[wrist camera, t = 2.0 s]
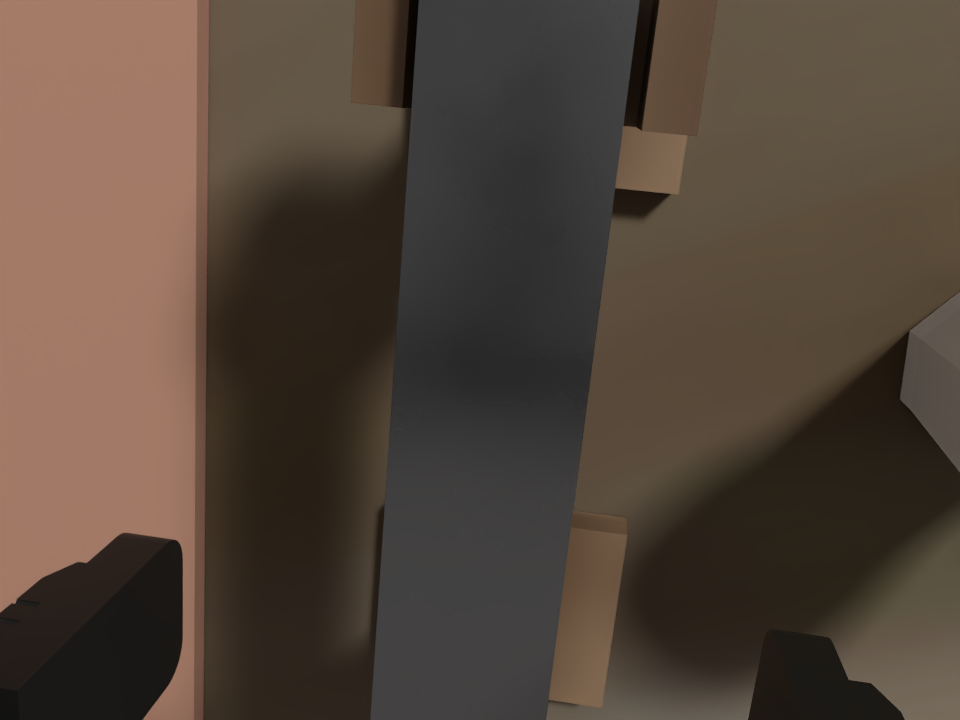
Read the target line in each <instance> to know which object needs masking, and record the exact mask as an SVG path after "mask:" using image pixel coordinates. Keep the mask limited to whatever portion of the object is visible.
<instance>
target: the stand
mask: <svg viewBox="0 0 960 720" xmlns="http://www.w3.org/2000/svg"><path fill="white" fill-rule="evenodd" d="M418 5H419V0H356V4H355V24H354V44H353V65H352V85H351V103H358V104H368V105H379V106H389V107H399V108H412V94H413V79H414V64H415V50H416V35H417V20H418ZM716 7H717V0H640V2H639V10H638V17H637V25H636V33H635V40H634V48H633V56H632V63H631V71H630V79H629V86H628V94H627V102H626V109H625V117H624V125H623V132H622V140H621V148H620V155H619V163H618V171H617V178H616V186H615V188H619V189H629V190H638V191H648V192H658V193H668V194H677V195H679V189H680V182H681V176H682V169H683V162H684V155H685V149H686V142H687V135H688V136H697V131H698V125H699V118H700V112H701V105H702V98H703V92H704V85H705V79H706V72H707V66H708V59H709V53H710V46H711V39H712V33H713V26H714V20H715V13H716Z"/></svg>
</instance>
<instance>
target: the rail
mask: <svg viewBox="0 0 960 720" xmlns="http://www.w3.org/2000/svg"><path fill="white" fill-rule="evenodd" d="M639 2H640V0H419V5H418V20H417V35H416V50H415V64H414V79H413V94H412V109H411V124H410V138H409V153H408V168H407V183H406V198H405V213H404V227H403V242H402V257H401V272H400V287H399V301H398V316H397V331H396V346H395V361H394V375H393V390H392V405H391V420H390V435H389V449H388V464H387V479H386V494H385V509H384V524H383V538H382V553H381V568H380V583H379V598H378V612H377V627H376V642H375V657H374V672H373V686H372V701H371V716H370V720H546V715H547V708H548V700H549V692H550V685H551V677H552V669H553V662H554V654H555V646H556V639H557V631H558V623H559V616H560V608H561V600H562V593H563V585H564V577H565V570H566V562H567V554H568V547H569V539H570V531H571V524H572V516H573V508H574V501H575V493H576V485H577V478H578V470H579V462H580V455H581V447H582V439H583V432H584V424H585V416H586V409H587V401H588V393H589V386H590V378H591V370H592V362H593V355H594V347H595V339H596V332H597V324H598V316H599V309H600V301H601V293H602V286H603V278H604V270H605V263H606V255H607V247H608V240H609V232H610V224H611V217H612V209H613V201H614V194H615V186H616V178H617V171H618V163H619V155H620V148H621V140H622V132H623V125H624V117H625V109H626V102H627V94H628V86H629V79H630V71H631V63H632V56H633V48H634V40H635V33H636V25H637V17H638V10H639Z"/></svg>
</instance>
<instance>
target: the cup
mask: <svg viewBox="0 0 960 720" xmlns="http://www.w3.org/2000/svg"><path fill="white" fill-rule="evenodd" d="M900 400H901V401H902V402H903V403H904V405H905V406H906V407H907V408H908V409H909V410H910V411H911V412H912V413H913V414H914V416H915V417H916V418H917V419H918V420H919V421H920V423H921V424H922V425H923V426H924V428H925V429H926V430H927V431H928V433H929V434H930V435H931V436H932V438H933V439H934V440H935V441H936V443H937V444H938V445H939V447H940V448H941V449H942V450H943V452H944V453H945V454H946V455H947V457H948V458H949V459H950V460H951V462H952V463H953V464H954V465H955V467H956V468H957V469H958V471H959V472H960V292H958V293H957V294H956V295H955V296H953V297H952V298H951V299H950V300H948V301H947V302H946V303H944V304H943V305H942V306H941V307H939V308H938V309H937V310H935V311H934V312H933V313H932V314H930V315H929V316H928V317H927V318H925V319H924V320H923V321H921V322H920V323H919V324H918V325H916V326H915V327H914V328H912V329H911V330H910V331H909V338H908V345H907V352H906V359H905V366H904V373H903V380H902V387H901V394H900Z"/></svg>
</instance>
